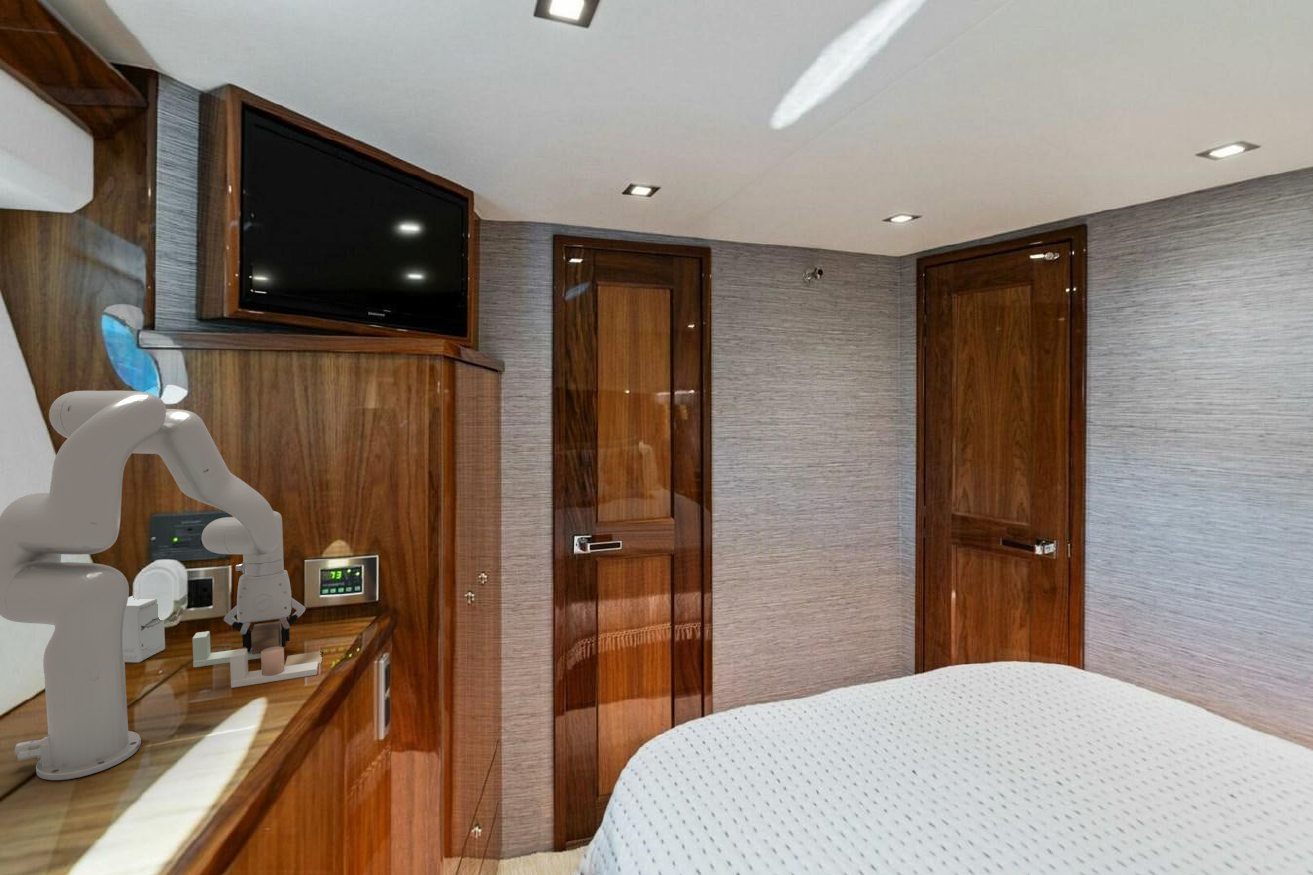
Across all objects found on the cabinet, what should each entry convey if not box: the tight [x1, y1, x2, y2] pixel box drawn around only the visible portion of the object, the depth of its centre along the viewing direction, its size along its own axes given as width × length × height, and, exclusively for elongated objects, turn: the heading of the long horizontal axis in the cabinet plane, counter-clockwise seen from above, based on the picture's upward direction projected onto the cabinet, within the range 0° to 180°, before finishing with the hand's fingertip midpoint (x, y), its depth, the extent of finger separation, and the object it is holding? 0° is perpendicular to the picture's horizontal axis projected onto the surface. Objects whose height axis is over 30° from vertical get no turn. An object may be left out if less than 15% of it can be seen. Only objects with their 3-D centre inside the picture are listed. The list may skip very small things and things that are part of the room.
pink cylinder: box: [260, 646, 285, 676], centre depth 131 cm, size 4×4×4 cm
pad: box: [284, 650, 323, 666], centre depth 139 cm, size 7×7×1 cm
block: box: [251, 621, 282, 655], centre depth 142 cm, size 5×5×5 cm
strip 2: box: [229, 647, 319, 689], centre depth 131 cm, size 15×4×6 cm, turn 114°
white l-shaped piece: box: [191, 630, 261, 668], centre depth 140 cm, size 15×4×6 cm, turn 114°
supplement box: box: [123, 595, 166, 663], centre depth 142 cm, size 7×7×13 cm
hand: (266, 646), depth 142 cm, fingers open, 6 cm apart
